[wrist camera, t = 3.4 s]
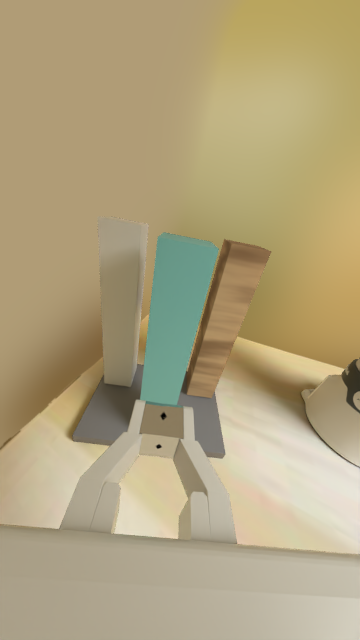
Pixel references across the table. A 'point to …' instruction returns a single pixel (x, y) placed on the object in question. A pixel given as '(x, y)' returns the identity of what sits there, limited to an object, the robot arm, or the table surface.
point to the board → (117, 406)
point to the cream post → (121, 295)
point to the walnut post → (224, 313)
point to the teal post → (175, 313)
